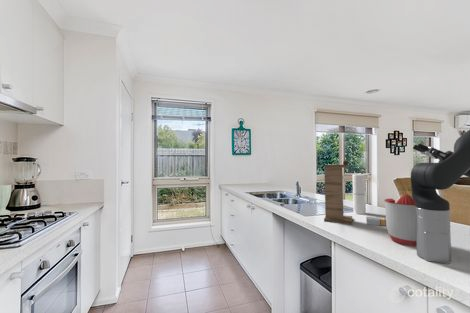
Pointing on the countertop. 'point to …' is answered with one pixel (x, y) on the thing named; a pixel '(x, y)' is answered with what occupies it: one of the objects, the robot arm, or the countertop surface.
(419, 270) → the countertop surface
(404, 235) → the citrus juicer
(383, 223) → the cord plug
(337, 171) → the stand
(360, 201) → the cylindrical container
